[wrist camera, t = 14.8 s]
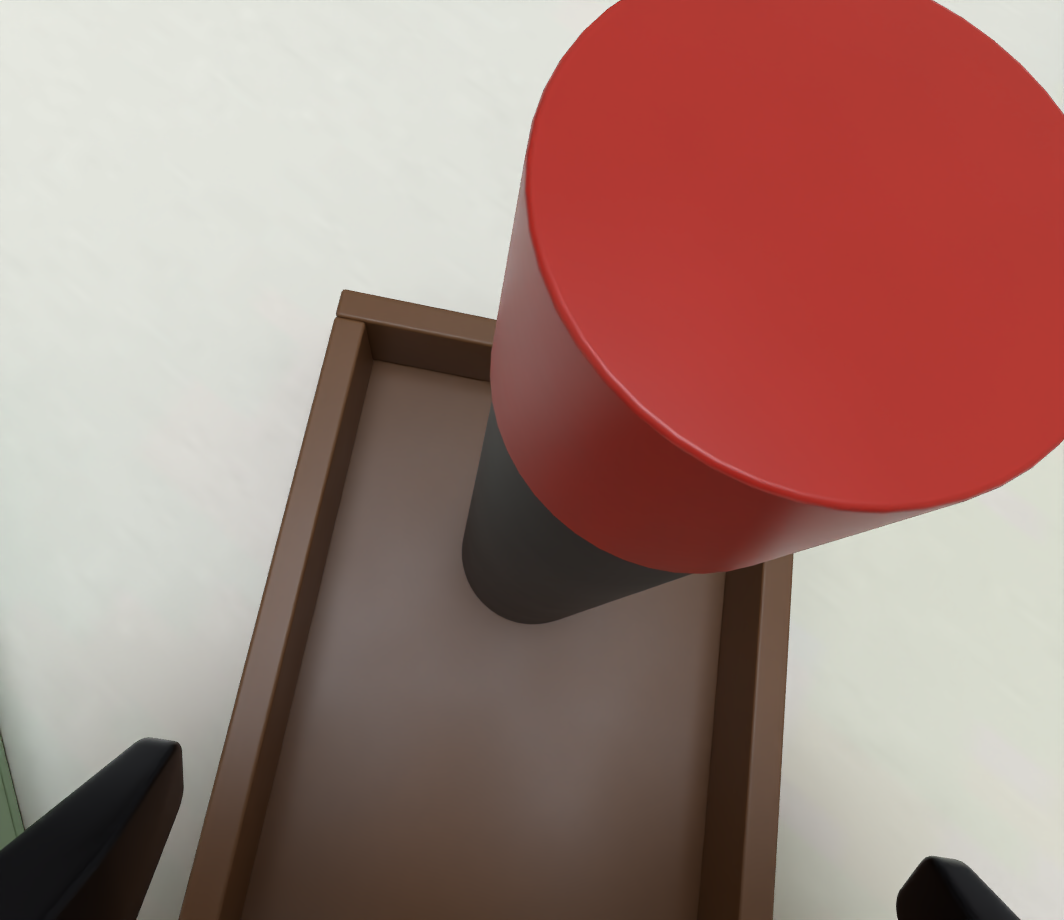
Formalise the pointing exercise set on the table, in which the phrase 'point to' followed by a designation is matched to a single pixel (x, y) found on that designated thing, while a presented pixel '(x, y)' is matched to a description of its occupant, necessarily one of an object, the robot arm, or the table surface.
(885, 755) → the table surface
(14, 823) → the green tray
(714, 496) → the thermos
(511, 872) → the walnut tray
